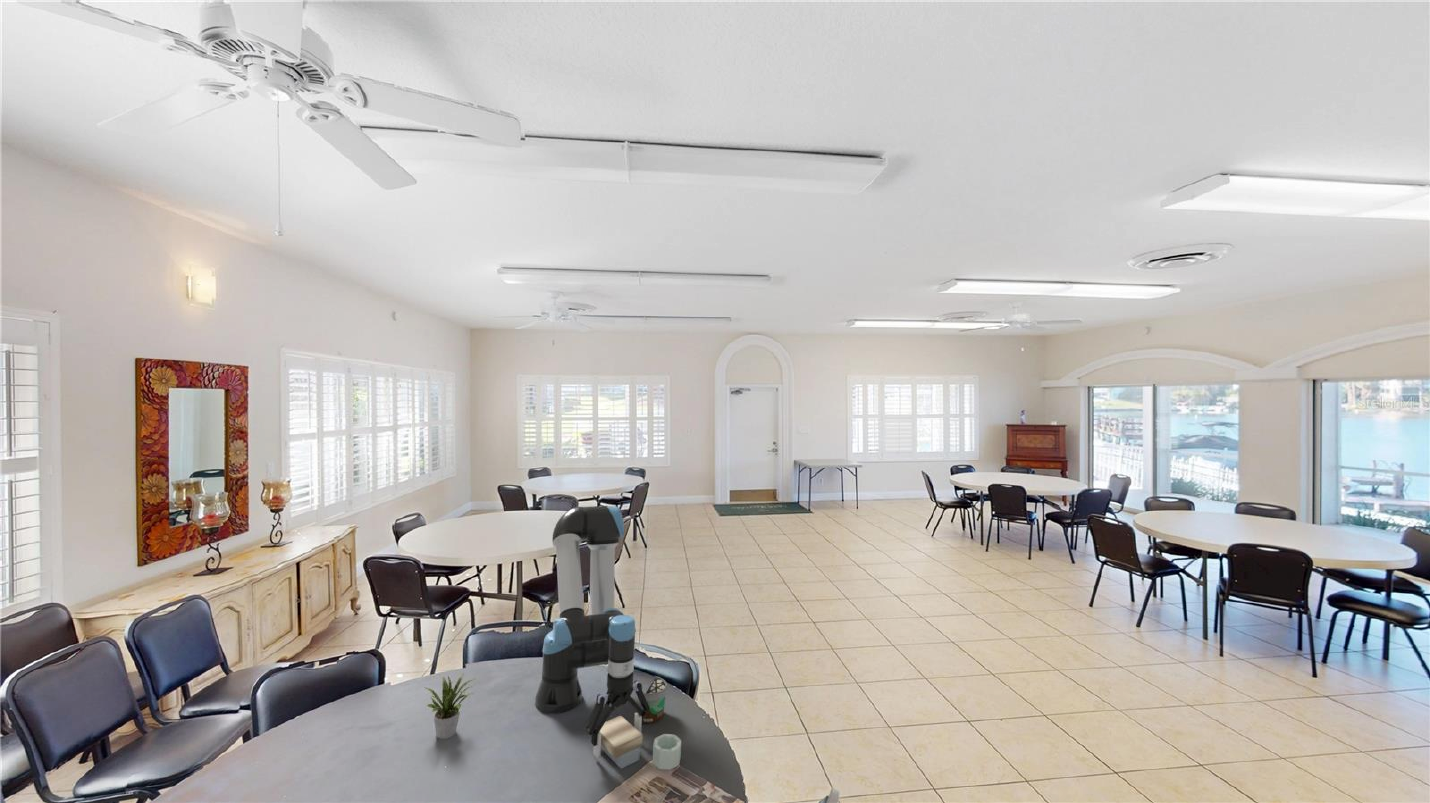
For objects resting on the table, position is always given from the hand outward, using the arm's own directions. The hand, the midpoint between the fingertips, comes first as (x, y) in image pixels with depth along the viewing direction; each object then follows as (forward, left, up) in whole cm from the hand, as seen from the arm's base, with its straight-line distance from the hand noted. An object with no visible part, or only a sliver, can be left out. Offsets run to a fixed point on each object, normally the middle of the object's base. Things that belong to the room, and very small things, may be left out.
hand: (617, 745), depth 150 cm
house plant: (-38, -35, -2) cm, 52 cm away
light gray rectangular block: (0, 0, -2) cm, 2 cm away
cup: (+12, +9, -2) cm, 15 cm away
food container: (-7, +19, -2) cm, 20 cm away
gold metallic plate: (0, 0, +1) cm, 1 cm away
